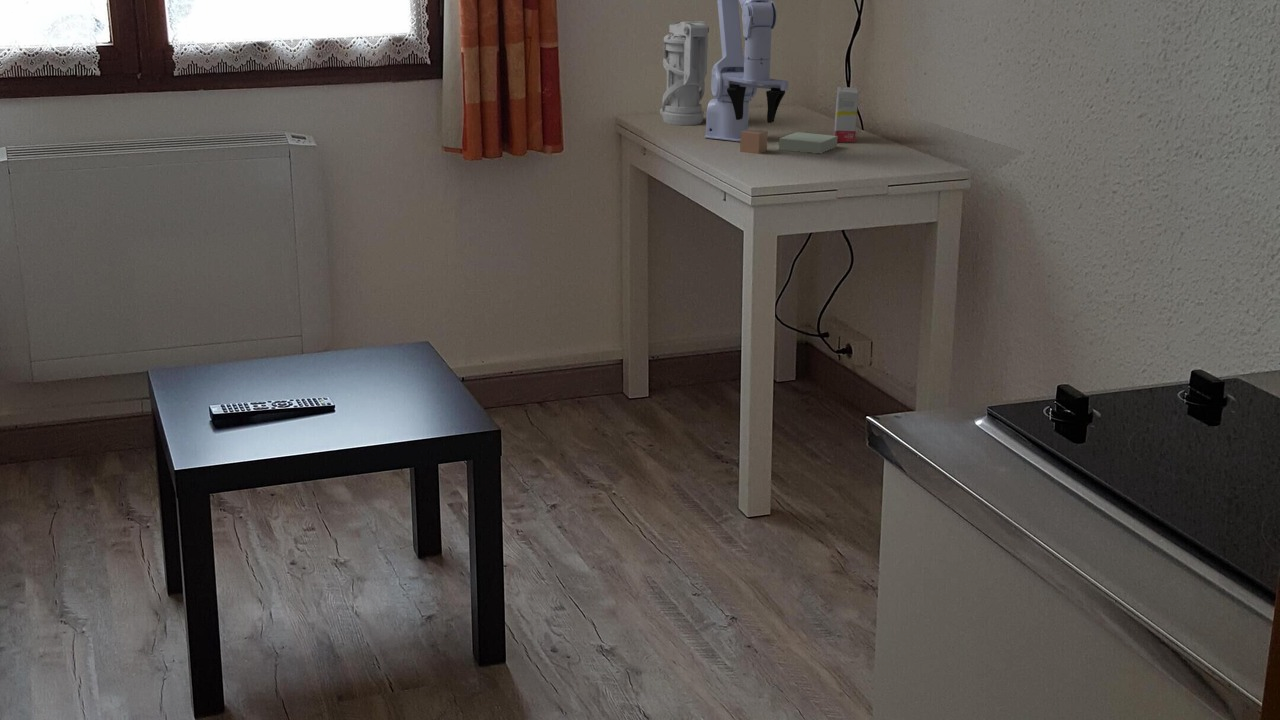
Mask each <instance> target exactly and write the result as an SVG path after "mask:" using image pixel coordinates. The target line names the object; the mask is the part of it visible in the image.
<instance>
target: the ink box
mask: <svg viewBox="0 0 1280 720" xmlns="http://www.w3.org/2000/svg"><path fill="white" fill-rule="evenodd" d="M836 88H837V89H836V100H835V113H834V114H835V115H834V127H833V128H834V129H833V136H837V143H845V142H850V143H849V144H855V143H856V135H857V134H856V133H857V132H856V131H857V120H858V119H857V118H858V104H859V91H858V87H848V86H847V87H846V86H837V87H836Z"/></svg>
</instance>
